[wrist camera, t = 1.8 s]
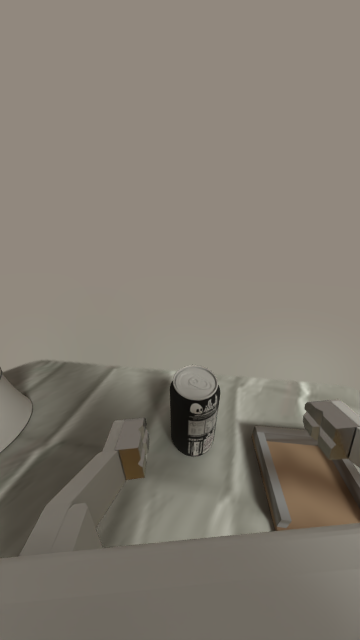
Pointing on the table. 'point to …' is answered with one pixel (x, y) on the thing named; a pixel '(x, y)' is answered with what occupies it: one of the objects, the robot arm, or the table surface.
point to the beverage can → (194, 409)
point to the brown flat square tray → (305, 480)
